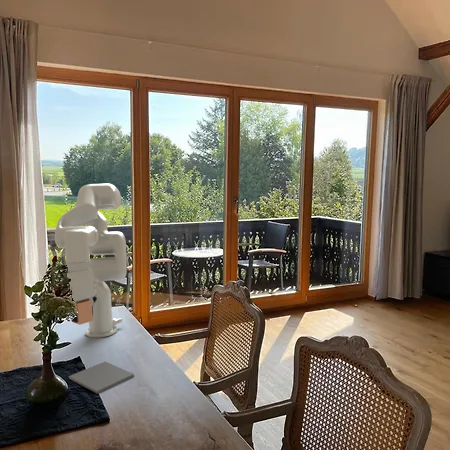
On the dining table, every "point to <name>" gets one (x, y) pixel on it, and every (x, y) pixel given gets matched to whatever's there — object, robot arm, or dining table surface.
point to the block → (84, 311)
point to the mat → (101, 377)
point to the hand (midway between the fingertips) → (82, 318)
